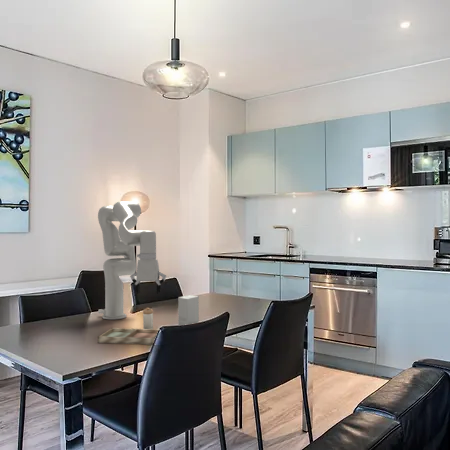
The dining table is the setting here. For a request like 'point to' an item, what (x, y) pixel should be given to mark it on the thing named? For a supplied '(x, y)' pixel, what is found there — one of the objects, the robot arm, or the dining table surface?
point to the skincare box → (188, 309)
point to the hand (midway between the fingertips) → (148, 293)
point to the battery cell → (148, 318)
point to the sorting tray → (128, 336)
